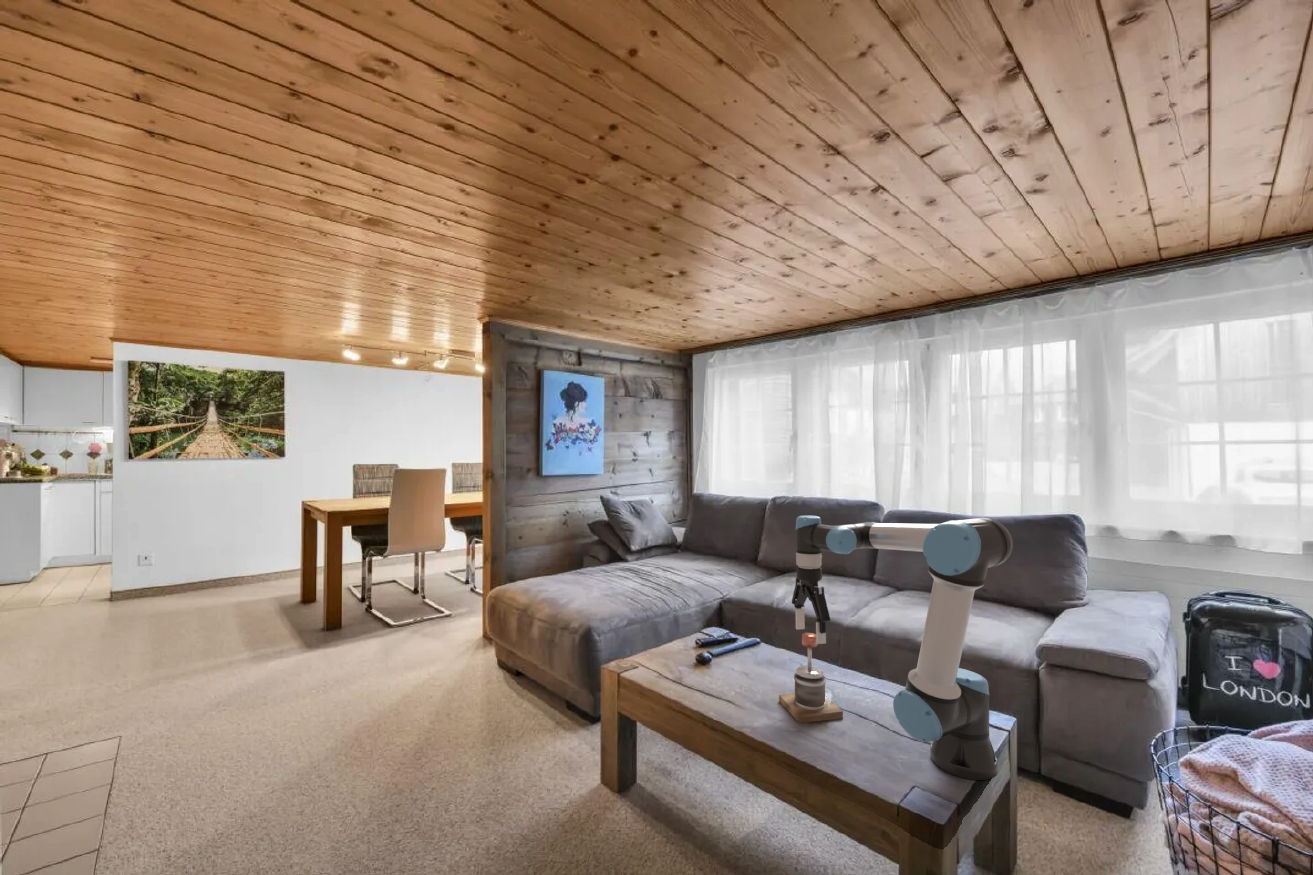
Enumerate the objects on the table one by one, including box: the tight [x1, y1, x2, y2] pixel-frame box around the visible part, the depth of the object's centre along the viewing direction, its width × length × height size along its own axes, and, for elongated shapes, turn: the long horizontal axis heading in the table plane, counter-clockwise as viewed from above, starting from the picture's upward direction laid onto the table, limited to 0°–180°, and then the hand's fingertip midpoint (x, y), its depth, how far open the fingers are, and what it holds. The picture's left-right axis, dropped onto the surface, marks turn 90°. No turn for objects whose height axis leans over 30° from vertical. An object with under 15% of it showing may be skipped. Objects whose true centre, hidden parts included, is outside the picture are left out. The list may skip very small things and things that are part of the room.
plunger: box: [795, 632, 824, 679], centre depth 170 cm, size 8×8×12 cm
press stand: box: [778, 672, 844, 724], centre depth 169 cm, size 14×14×10 cm
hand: (810, 635), depth 169 cm, fingers open, 13 cm apart
